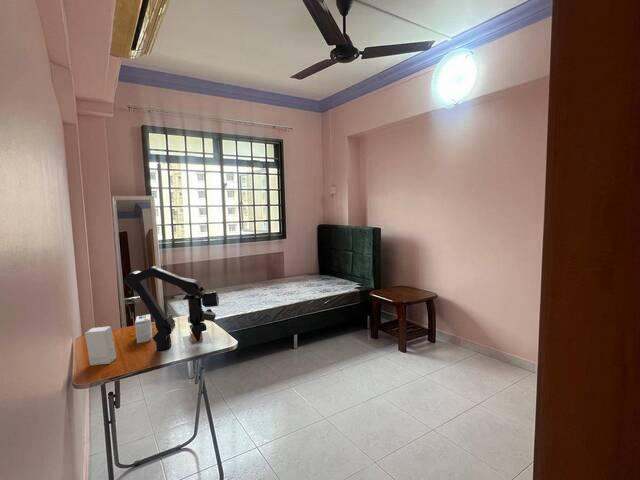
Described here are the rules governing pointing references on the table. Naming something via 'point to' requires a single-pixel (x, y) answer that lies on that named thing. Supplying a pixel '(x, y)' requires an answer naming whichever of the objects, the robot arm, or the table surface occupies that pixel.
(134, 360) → the table surface
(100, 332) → the skincare box
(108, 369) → the table surface
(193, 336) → the cream block
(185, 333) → the board
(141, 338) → the light bulb box
